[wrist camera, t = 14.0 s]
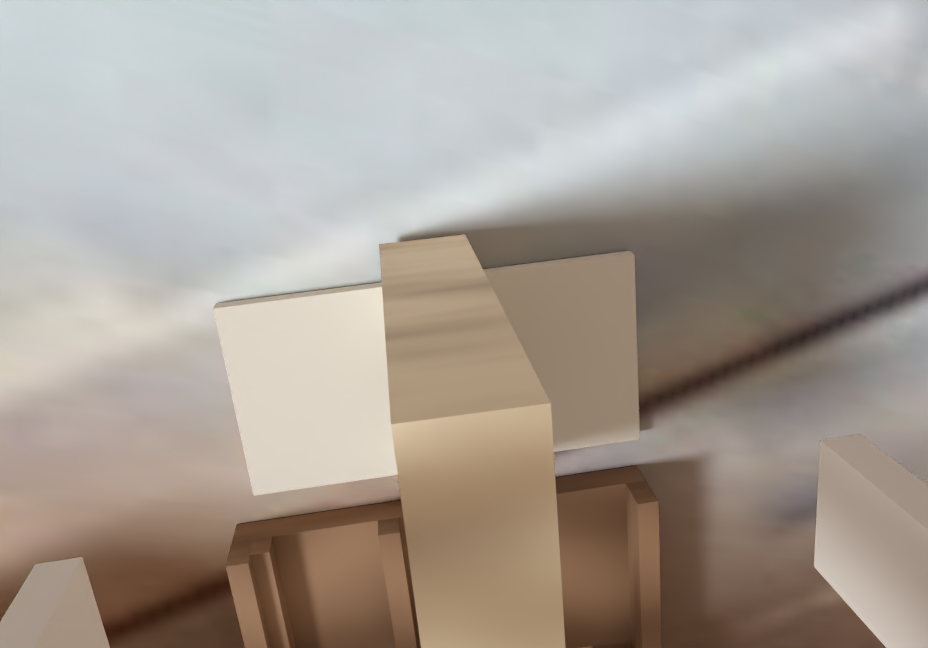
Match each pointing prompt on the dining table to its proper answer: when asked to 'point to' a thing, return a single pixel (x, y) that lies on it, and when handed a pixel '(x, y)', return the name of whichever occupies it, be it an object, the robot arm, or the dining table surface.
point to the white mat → (366, 378)
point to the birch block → (469, 454)
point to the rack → (390, 583)
